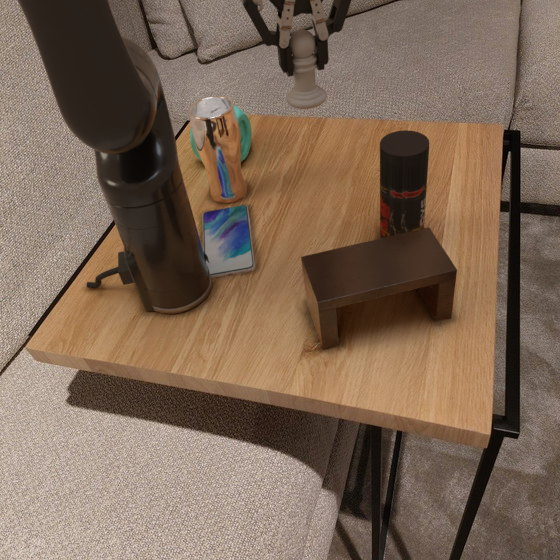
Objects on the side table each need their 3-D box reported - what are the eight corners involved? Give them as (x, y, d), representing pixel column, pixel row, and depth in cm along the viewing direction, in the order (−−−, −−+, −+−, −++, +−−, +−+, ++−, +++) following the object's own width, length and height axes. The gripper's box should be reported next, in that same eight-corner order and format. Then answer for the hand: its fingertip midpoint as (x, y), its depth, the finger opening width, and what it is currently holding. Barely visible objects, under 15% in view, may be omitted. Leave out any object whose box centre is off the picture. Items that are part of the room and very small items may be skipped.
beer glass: (202, 204, 93) (180, 119, 83) (214, 179, 98) (194, 95, 88) (245, 205, 92) (228, 118, 81) (254, 179, 96) (239, 94, 86)
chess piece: (280, 108, 76) (273, 38, 70) (295, 89, 79) (289, 21, 73) (319, 112, 74) (315, 41, 68) (332, 93, 77) (330, 23, 71)
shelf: (322, 349, 69) (317, 302, 64) (306, 302, 75) (300, 256, 69) (451, 318, 70) (457, 269, 65) (425, 274, 76) (429, 226, 71)
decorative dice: (213, 142, 107) (204, 101, 101) (254, 145, 104) (247, 104, 99) (196, 167, 101) (185, 125, 96) (238, 170, 99) (230, 128, 93)
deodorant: (422, 251, 79) (428, 156, 69) (378, 250, 81) (377, 156, 70) (423, 224, 83) (430, 130, 73) (381, 222, 85) (381, 130, 74)
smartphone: (203, 277, 80) (202, 211, 91) (204, 281, 81) (203, 216, 92) (255, 268, 80) (247, 203, 91) (256, 272, 81) (248, 207, 92)
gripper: (345, -104, 65) (348, 49, 77) (221, -83, 64) (244, 70, 76) (367, -91, 60) (367, 72, 72) (232, -67, 59) (255, 95, 70)
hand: (304, 70), depth 74 cm, fingers closed on chess piece, 3 cm apart
